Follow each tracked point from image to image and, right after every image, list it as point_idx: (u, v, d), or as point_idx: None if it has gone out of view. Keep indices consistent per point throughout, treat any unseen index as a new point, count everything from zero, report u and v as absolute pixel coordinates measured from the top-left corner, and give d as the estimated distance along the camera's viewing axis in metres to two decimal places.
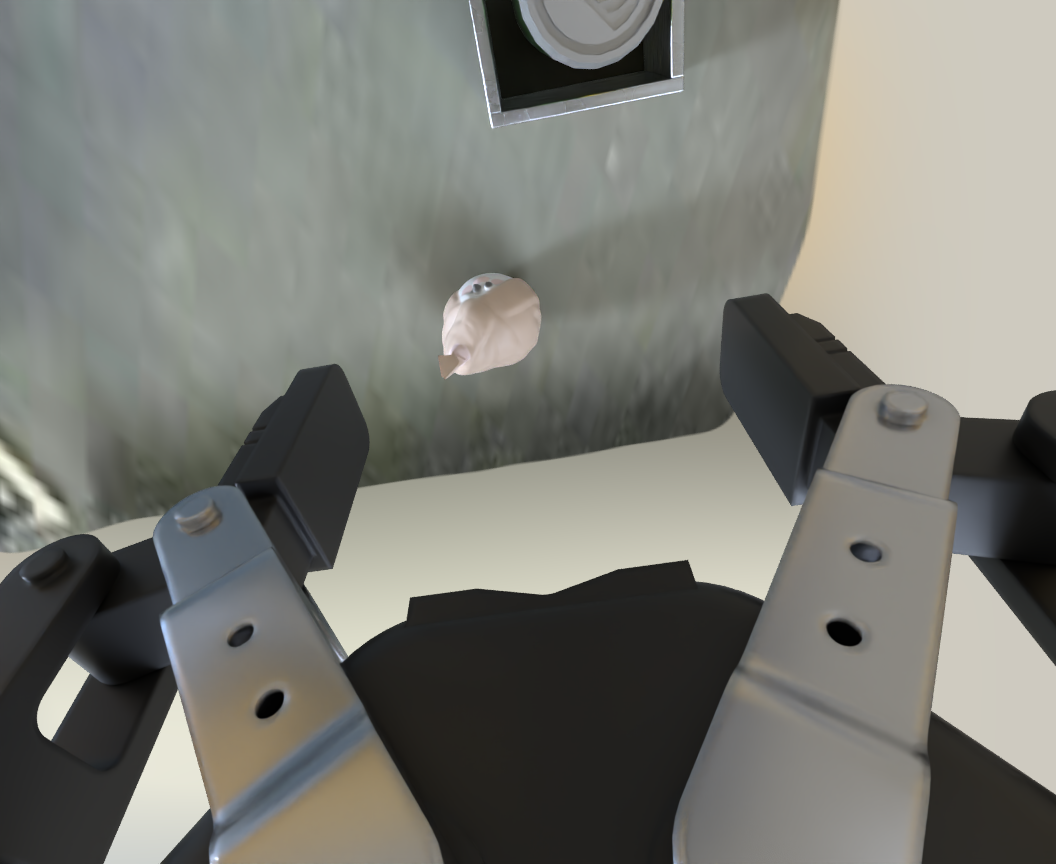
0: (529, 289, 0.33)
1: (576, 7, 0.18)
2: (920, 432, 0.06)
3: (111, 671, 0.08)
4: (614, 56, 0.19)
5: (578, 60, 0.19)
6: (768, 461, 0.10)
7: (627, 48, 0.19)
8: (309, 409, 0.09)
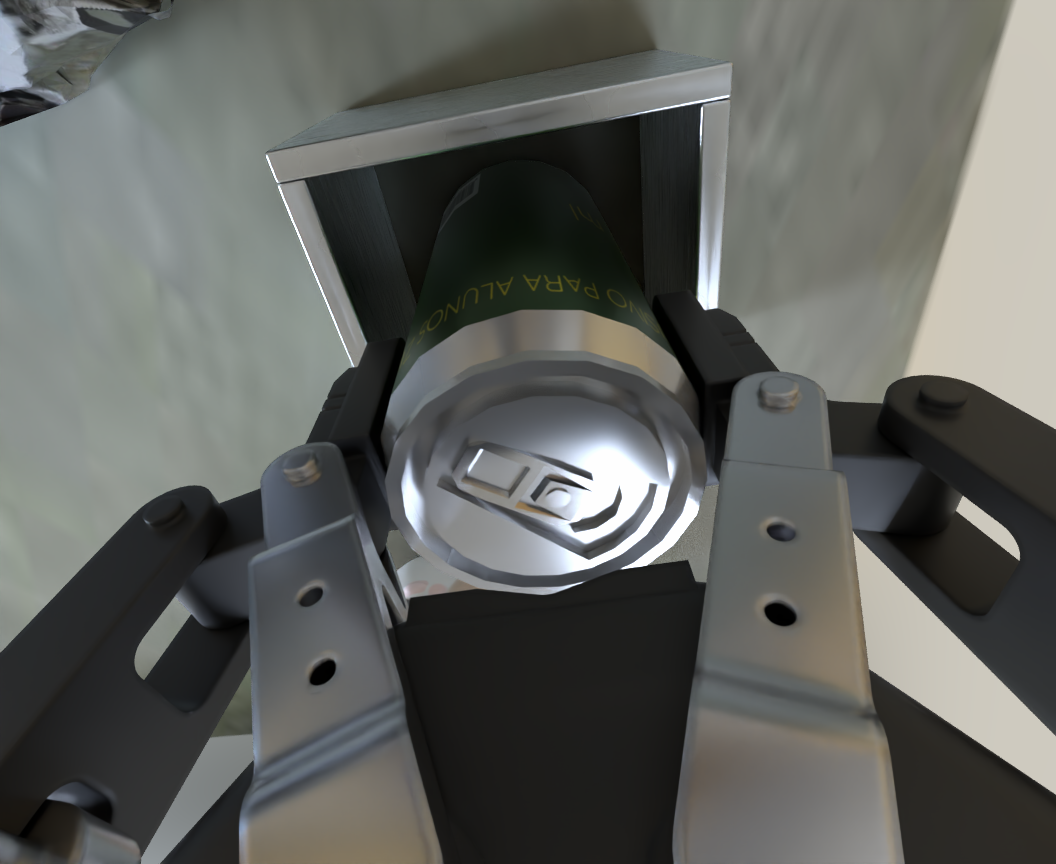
0: None
1: (509, 537, 0.09)
2: (788, 413, 0.07)
3: (208, 617, 0.08)
4: None
5: (518, 592, 0.10)
6: None
7: None
8: (385, 376, 0.10)
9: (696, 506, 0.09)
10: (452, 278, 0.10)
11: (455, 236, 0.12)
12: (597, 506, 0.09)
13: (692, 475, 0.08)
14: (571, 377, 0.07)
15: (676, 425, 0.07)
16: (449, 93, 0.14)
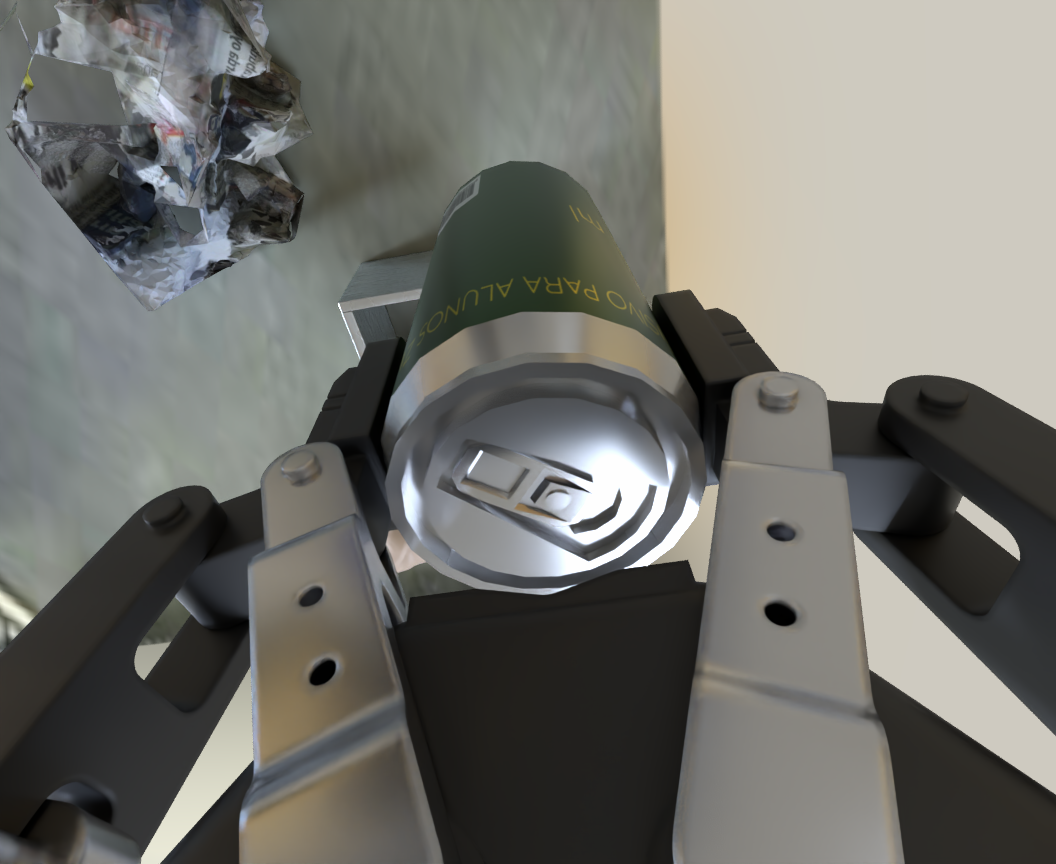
0: None
1: (508, 538, 0.09)
2: (788, 413, 0.07)
3: (208, 616, 0.08)
4: None
5: None
6: None
7: None
8: (385, 376, 0.10)
9: (696, 508, 0.09)
10: (452, 279, 0.10)
11: (455, 237, 0.12)
12: (597, 507, 0.09)
13: (692, 477, 0.08)
14: (570, 380, 0.07)
15: (676, 427, 0.08)
16: (411, 259, 0.32)
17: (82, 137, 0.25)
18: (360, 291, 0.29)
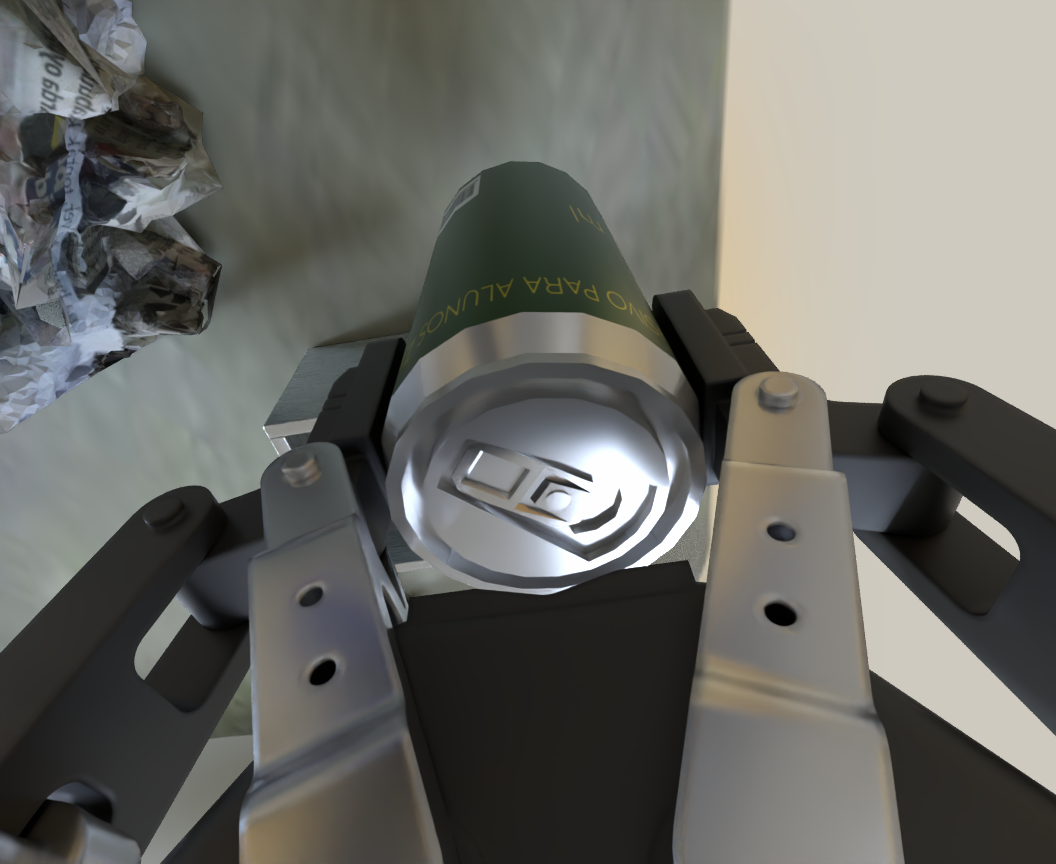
0: None
1: (508, 538, 0.09)
2: (788, 413, 0.07)
3: (208, 616, 0.08)
4: None
5: None
6: None
7: None
8: (385, 377, 0.10)
9: (695, 508, 0.09)
10: (452, 280, 0.10)
11: (455, 237, 0.12)
12: (597, 507, 0.09)
13: (692, 477, 0.08)
14: (571, 380, 0.07)
15: (676, 427, 0.08)
16: None
17: None
18: (297, 406, 0.21)
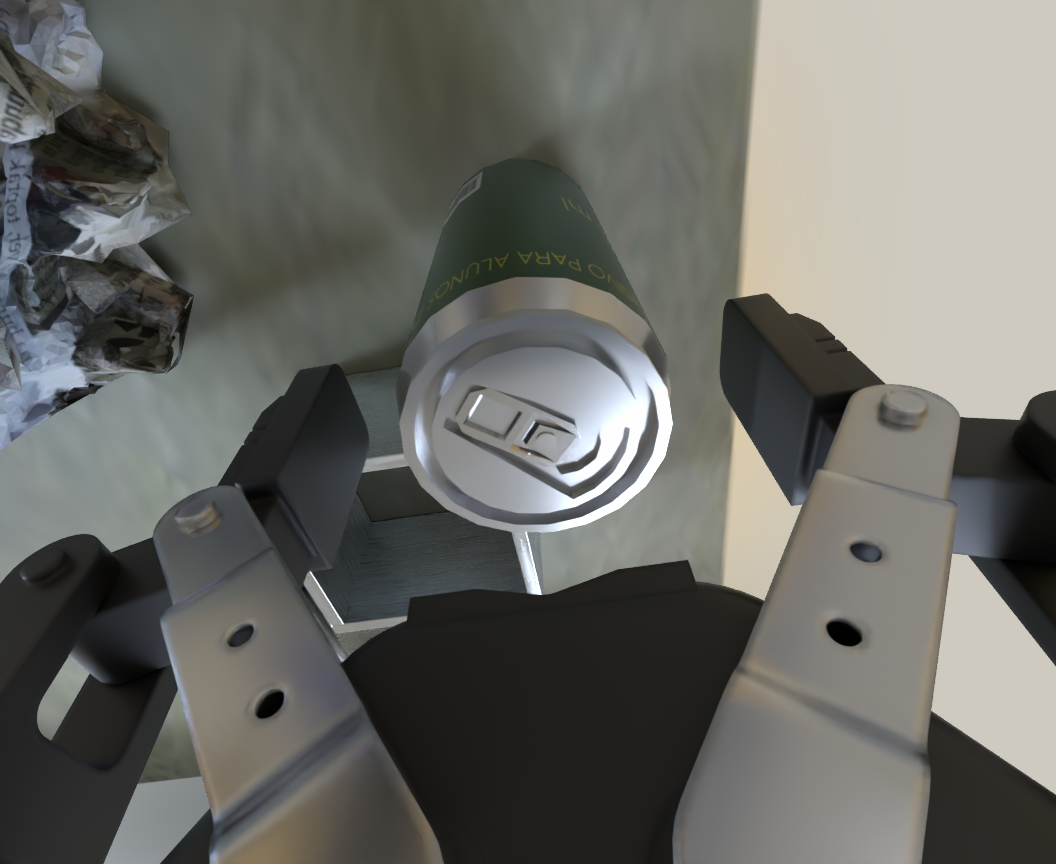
0: None
1: (503, 476, 0.10)
2: (920, 432, 0.06)
3: (111, 671, 0.08)
4: (575, 524, 0.11)
5: (512, 530, 0.11)
6: (767, 461, 0.10)
7: (597, 518, 0.11)
8: (309, 409, 0.09)
9: (664, 450, 0.10)
10: (457, 256, 0.11)
11: (459, 224, 0.13)
12: (580, 451, 0.10)
13: (659, 420, 0.10)
14: (555, 334, 0.09)
15: (643, 374, 0.09)
16: (362, 386, 0.22)
17: None
18: None
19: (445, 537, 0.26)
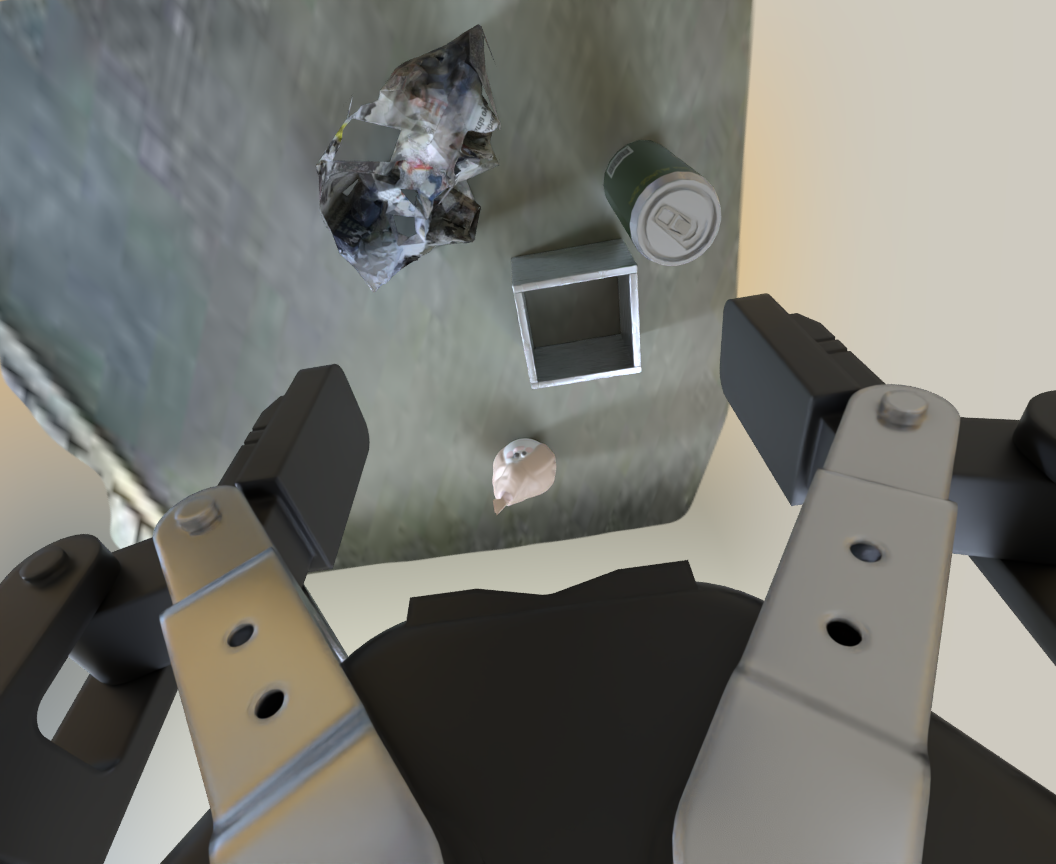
0: (549, 453, 0.53)
1: (666, 239, 0.32)
2: (920, 432, 0.06)
3: (111, 671, 0.08)
4: (686, 262, 0.33)
5: (664, 264, 0.33)
6: (767, 461, 0.10)
7: (694, 258, 0.33)
8: (309, 409, 0.09)
9: (717, 230, 0.32)
10: (645, 171, 0.33)
11: (634, 163, 0.35)
12: (690, 232, 0.32)
13: (717, 217, 0.31)
14: (688, 187, 0.31)
15: (713, 200, 0.31)
16: (552, 255, 0.43)
17: (355, 169, 0.36)
18: (525, 278, 0.40)
19: (580, 350, 0.48)
